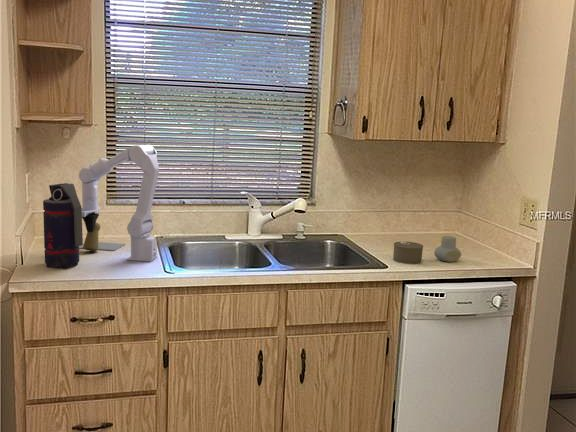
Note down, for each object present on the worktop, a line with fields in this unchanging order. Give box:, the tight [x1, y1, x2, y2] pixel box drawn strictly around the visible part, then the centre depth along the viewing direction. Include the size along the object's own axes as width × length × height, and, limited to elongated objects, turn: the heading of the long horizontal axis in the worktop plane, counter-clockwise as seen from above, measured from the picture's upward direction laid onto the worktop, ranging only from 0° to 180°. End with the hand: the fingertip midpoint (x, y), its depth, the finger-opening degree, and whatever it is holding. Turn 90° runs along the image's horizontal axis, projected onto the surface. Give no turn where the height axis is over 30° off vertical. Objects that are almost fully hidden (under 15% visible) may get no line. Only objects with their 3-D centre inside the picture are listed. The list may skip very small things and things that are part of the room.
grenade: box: [42, 182, 84, 270], centre depth 219 cm, size 14×12×30 cm
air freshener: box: [433, 235, 462, 263], centre depth 255 cm, size 11×8×10 cm
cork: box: [82, 222, 101, 252], centre depth 244 cm, size 6×6×11 cm
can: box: [392, 241, 424, 265], centre depth 252 cm, size 12×12×7 cm
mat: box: [79, 241, 126, 252], centre depth 253 cm, size 16×12×1 cm
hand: (90, 231), depth 241 cm, fingers closed
